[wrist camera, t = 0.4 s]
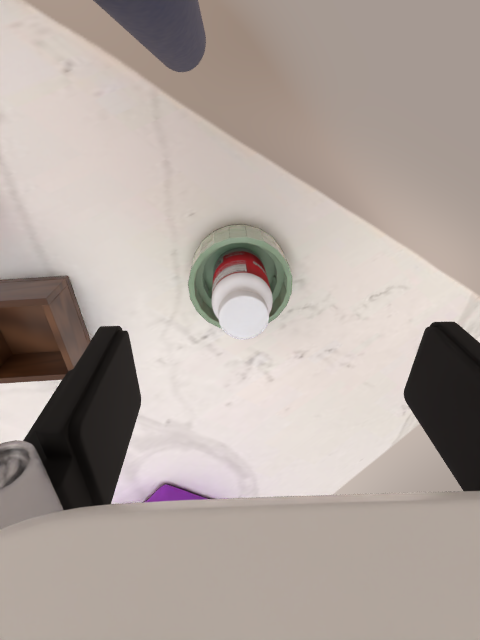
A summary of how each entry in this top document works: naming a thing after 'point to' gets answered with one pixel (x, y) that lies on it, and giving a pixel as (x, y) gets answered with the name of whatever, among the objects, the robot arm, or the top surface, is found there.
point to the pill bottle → (241, 294)
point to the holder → (39, 329)
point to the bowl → (236, 239)
